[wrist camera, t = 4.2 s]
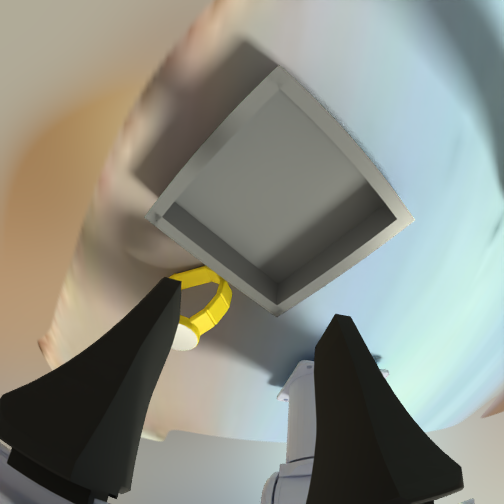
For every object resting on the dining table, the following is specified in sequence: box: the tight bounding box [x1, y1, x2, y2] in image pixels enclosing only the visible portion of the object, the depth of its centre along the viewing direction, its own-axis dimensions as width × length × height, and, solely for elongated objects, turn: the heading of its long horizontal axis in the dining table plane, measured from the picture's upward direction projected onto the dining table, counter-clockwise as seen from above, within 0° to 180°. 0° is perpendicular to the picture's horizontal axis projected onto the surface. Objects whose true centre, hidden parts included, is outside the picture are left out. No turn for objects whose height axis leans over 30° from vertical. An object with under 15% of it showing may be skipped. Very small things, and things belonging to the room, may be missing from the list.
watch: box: [169, 266, 232, 351], centre depth 19 cm, size 6×3×6 cm, turn 110°
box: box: [144, 65, 415, 317], centre depth 16 cm, size 11×11×2 cm
